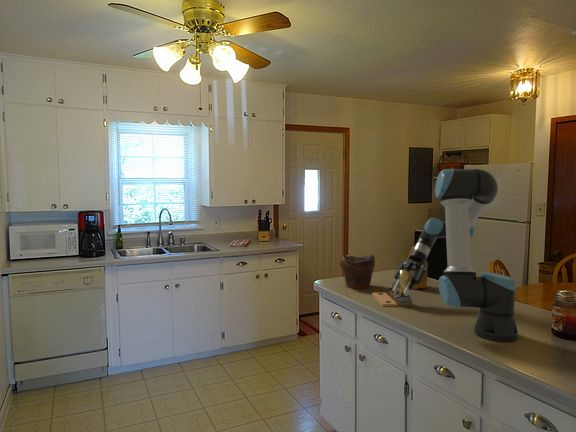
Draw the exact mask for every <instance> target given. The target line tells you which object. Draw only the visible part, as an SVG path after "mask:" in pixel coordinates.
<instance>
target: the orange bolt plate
mask: <svg viewBox="0 0 576 432" xmlns="http://www.w3.org/2000/svg"><path fill="white" fill-rule="evenodd" d="M371 296H372V297H373V298H374V299H375V300H376V302H377V303H379V304H380V305H381V307H398V305H397V303H396V302H395V301H394V300H393V299H392V298H391V297H390V296H389V295H388V292H371Z"/></svg>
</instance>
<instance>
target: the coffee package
mask: <svg viewBox="0 0 576 432" xmlns="http://www.w3.org/2000/svg"><path fill="white" fill-rule="evenodd" d="M414 247H415V245H414V246H411V248H410V250H409V253H408V256H407V259H406V262H407V261H408V260H409V256H410V254H411V253H412V251H413V249H414ZM428 264H429V263H428V261H427V259H426V260H425V262H424V264H423V265H426V267H427V270H426V271H425V273H424V275H423V277H422V279H421V281H420V283H419V284H415V285H414V286H413V288H412V290H417V289H426V288H428V287H427V286H428V266H429V265H428ZM420 269H421V268H420ZM420 269H419V270H418V273H419V271H420ZM412 273H413V270H411V271H410V272H409V281H410V282H411V278H412ZM418 273H417V275H418Z"/></svg>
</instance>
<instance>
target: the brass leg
mask: <svg viewBox="0 0 576 432" xmlns="http://www.w3.org/2000/svg"><path fill="white" fill-rule="evenodd" d="M408 282H409V270H400V281H399V289H398V291H399V294H397V297H394V298H397V299H398V300H399V301H411V302H412V297H411V295H409V293H410V292H409V293H408V295H407V296H405V295H404V293H403V292H404V290H405V288H406V286H407V284H408Z"/></svg>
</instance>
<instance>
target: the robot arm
mask: <svg viewBox="0 0 576 432" xmlns="http://www.w3.org/2000/svg"><path fill="white" fill-rule="evenodd" d="M434 188H435V189H434V194H435V198H437V199H440V205H442V206H443V207H444V211H445V212H444V213H445V214H444V215H445V221H442V220H440V218H439V219H438V218H435V217H433V218H432V217H431V218H430V219H428V220H427V221H426V223H425V224H424V226H423V230H422V231H421V233H420V235H419V237H418V239H417V242H416V244H415V245H414V249H413V251H412V253H411V254H410V256H409V255H408V256H409V260H408V261H407V260H406V261H403V260H402V261H400V265H399V266H398V268H397V270H396V272H395V274H393V275H394V276H393V277H394V279H395V281H394V282H395V283H394V285H395V286H394V288H393V292H394V293H395V294H396V293H397V291H399V281H400V270H409V272H410V271H411V270H413V273H412V278H411V282H410V281H409V282H408V284H407V286H406V288H405V290H404V292H403V293H404V295H405V296H407V295H408V293H410V291H411V290H413V289H412V288H413V286H414V285H415V284H419V283H420V281H421V279H422V277H423V275H424V273H425V271H426V270H427V269H428V267H426V265H423V264H424V262H425V260H427V258H428V256H429V254H430V252H431V251H432V248H433V246H434V245H435V242H436V241H437V239H438V238H439V239H440V238H441V239H442V238H443V239H445V240H446V259H447V261H446V262H447V263H446V265H447V266H446V269H445V270H443V275H441V276H439V279H438V290H439V295H440V298H441V300H442V303H444V305H445V306H447V307H450V308H457V309H458V308H459V309H460V308H472V309H474V308H477V309H479V314H478V316H477V319H476V321H475V323H474V326H473V332H474V333H475V335H477V336H478V337H480V338H482V339H486V340H490V341H494V342H507V343H509V342H514V341H517V340H518V338H519V331H518V327H517V324H516V320H515V316H514V315H515V302H516V300H515V299H516V292H517V290H516V281H515V279H513V278H512V277H510V276H509V275H508V276H507V275H504V274H500V273H497V272H496V273H495V272H488V271H485V272H484V271H483V272H481V274H480V276H477V270H475V269H474V268H473V267H472V256H471V255H472V253H471V252H472V251H471V238H472V237H473V234H474V231H475V230H474V224H475V223H476V221H477V220H478V219H479V217H480V215H481V214H482V212H483V211H484V209H485V208H486V207H487V205H489V204H491V203H492V202H493V201H494V200H495V198H496V197H497V195H498V191H499V185H498V182H497V179H496V178H495V177H494V175H493V174H491V172H489V171H487V170H485V169H480V168H475V169H473V168H472V169H471V168H449V169H448V168H447V169H442V170H441V171H440V172H439V173H438V176H437V178H436V182H435V187H434ZM420 268H421V269H420ZM419 269H420V271H419V273H418V270H419ZM427 271H428V270H427ZM417 273H418V275H417Z"/></svg>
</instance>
